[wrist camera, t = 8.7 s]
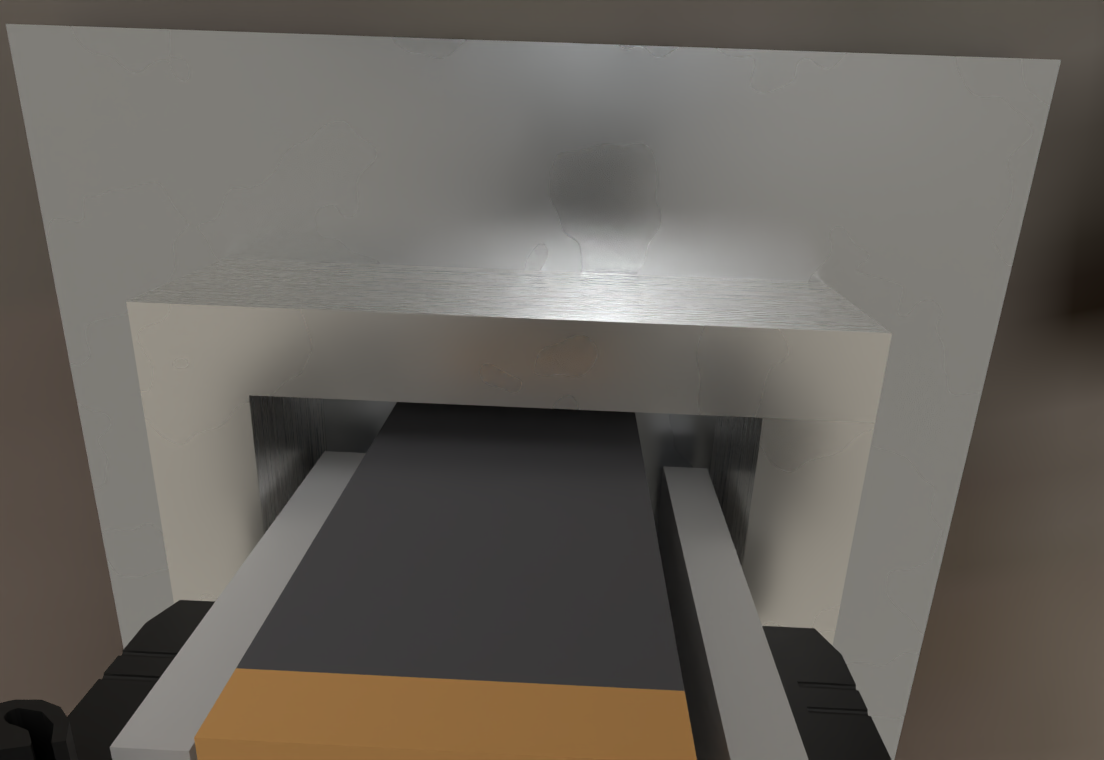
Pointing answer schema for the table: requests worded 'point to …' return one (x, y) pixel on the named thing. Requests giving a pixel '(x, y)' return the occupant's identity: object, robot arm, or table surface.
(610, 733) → the plug
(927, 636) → the table surface
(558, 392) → the socket plate
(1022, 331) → the table surface
